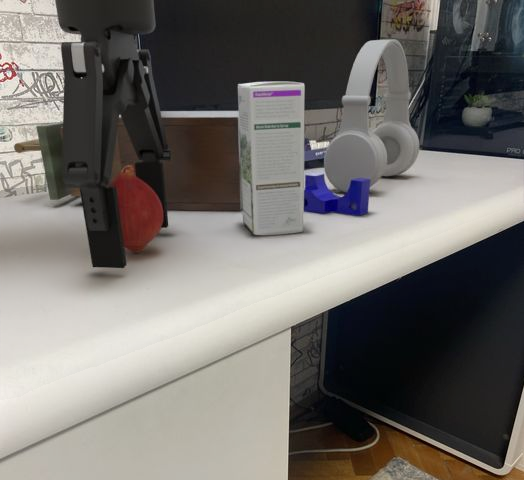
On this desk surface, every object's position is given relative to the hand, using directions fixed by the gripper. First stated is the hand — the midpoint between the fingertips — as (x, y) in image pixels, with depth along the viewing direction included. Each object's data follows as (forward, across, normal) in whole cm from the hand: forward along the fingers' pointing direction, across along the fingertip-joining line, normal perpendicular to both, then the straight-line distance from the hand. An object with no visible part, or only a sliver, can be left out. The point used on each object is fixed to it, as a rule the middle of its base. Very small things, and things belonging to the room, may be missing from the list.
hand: (135, 244), depth 51 cm
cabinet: (+1, +25, 0) cm, 25 cm away
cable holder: (+1, +19, -19) cm, 27 cm away
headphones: (+1, +38, -25) cm, 46 cm away
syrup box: (+1, +10, -12) cm, 16 cm away
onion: (+1, 0, 0) cm, 1 cm away
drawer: (0, +25, +13) cm, 28 cm away
